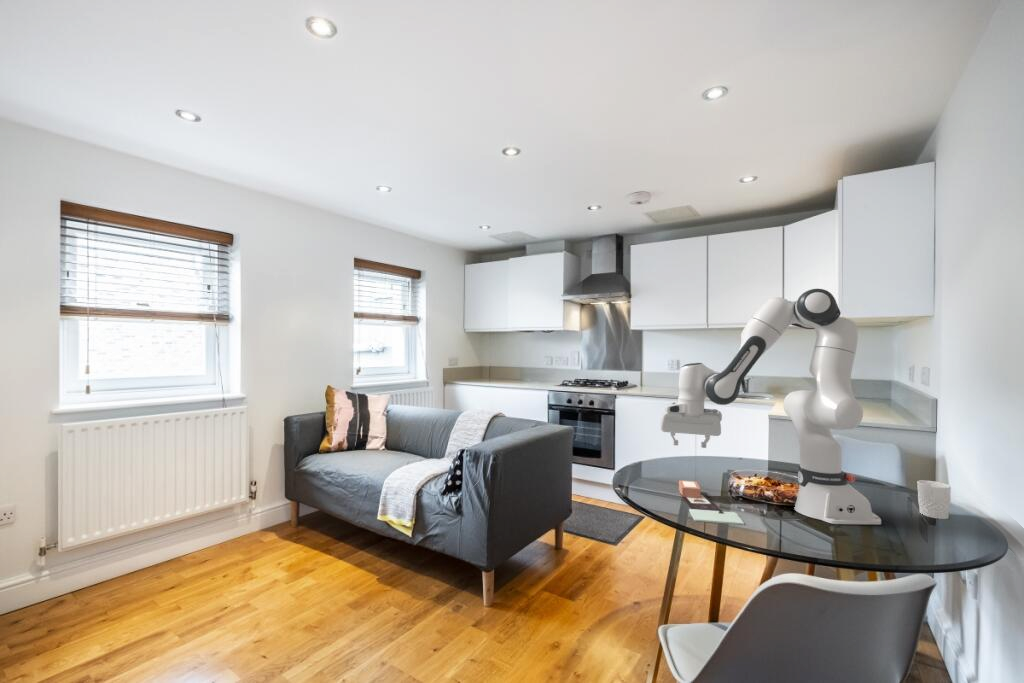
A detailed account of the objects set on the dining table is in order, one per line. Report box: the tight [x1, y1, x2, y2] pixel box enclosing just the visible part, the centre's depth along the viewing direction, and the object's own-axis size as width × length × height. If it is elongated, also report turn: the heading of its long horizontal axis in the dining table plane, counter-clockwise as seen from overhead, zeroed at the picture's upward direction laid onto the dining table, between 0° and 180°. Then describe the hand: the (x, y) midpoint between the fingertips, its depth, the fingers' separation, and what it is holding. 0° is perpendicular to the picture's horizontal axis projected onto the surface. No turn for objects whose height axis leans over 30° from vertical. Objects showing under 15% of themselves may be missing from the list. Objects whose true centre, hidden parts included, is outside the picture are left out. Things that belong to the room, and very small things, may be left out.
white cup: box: [916, 479, 952, 520], centre depth 145 cm, size 8×8×10 cm
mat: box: [688, 508, 745, 526], centre depth 142 cm, size 14×9×1 cm, turn 79°
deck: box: [678, 479, 702, 498], centre depth 163 cm, size 9×6×4 cm, turn 167°
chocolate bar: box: [679, 493, 725, 514], centre depth 153 cm, size 9×1×18 cm
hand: (689, 446), depth 163 cm, fingers open, 8 cm apart
